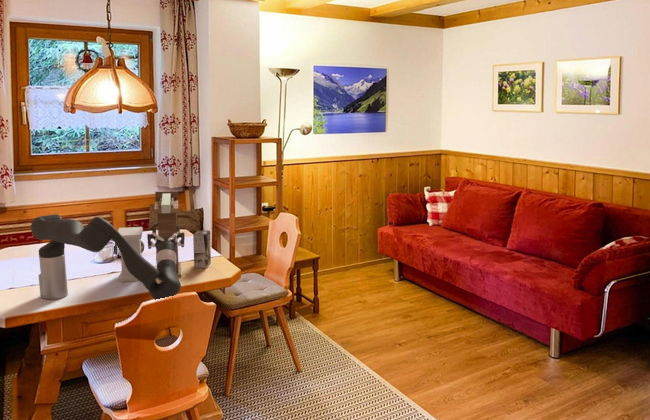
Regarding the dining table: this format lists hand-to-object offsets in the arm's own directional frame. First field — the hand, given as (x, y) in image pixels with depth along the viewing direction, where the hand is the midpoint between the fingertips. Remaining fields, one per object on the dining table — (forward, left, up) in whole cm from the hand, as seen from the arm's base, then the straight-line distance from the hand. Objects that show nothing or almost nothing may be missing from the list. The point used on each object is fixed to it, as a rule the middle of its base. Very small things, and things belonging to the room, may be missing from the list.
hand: (166, 227), depth 234 cm
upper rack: (-9, +25, -28) cm, 38 cm away
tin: (-39, +48, -28) cm, 68 cm away
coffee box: (+2, +38, -28) cm, 47 cm away
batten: (-7, +19, +4) cm, 21 cm away
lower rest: (-23, +17, -28) cm, 40 cm away
